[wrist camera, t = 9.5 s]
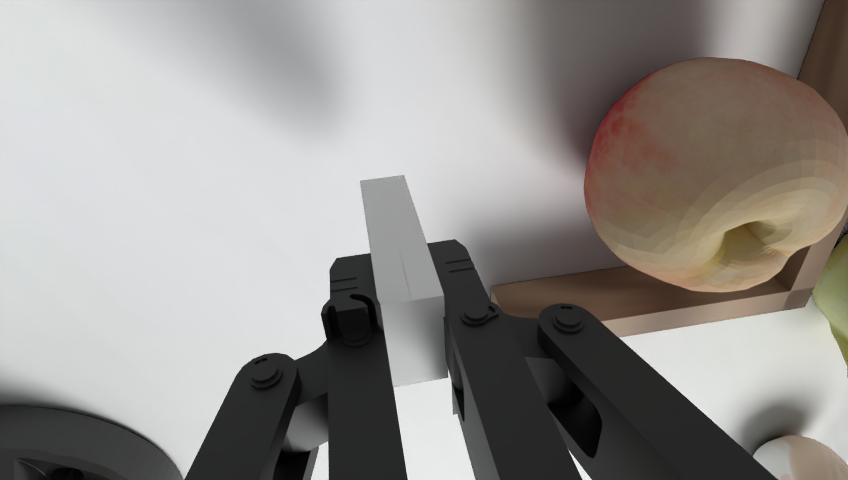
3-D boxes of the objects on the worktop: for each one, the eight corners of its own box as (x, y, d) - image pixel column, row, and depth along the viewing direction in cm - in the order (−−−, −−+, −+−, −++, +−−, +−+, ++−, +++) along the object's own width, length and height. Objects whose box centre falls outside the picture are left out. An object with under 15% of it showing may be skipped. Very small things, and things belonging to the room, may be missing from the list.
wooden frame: (490, 304, 25) (511, 355, 22) (495, -82, 16) (531, -85, 13) (752, 264, 26) (804, 307, 23) (895, -114, 17) (1012, -123, 14)
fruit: (516, 180, 21) (600, 296, 14) (638, -1, 18) (820, 41, 11) (644, 241, 24) (763, 361, 17) (769, 96, 21) (975, 175, 14)
